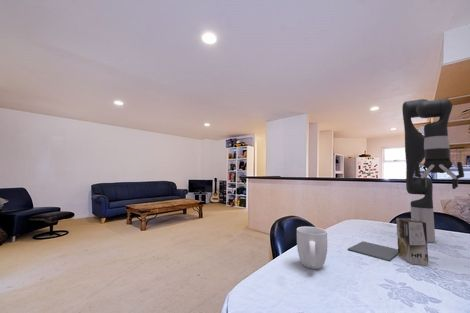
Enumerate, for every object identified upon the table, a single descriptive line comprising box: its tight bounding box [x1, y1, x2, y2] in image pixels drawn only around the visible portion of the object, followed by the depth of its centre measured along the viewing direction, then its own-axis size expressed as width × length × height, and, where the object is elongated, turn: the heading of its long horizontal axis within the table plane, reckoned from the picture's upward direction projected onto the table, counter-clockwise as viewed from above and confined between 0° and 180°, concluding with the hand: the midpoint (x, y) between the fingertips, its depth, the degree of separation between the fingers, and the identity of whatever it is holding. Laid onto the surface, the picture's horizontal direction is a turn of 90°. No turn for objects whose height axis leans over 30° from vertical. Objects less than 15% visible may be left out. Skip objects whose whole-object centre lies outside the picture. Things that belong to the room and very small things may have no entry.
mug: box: [296, 226, 328, 270], centre depth 79 cm, size 15×11×13 cm
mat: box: [347, 240, 398, 262], centre depth 97 cm, size 18×16×1 cm
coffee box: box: [395, 217, 429, 266], centre depth 87 cm, size 9×6×16 cm
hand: (439, 188), depth 86 cm, fingers open, 8 cm apart
